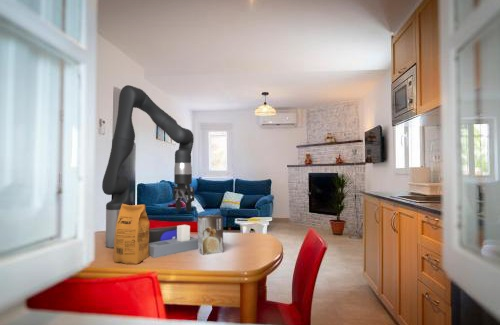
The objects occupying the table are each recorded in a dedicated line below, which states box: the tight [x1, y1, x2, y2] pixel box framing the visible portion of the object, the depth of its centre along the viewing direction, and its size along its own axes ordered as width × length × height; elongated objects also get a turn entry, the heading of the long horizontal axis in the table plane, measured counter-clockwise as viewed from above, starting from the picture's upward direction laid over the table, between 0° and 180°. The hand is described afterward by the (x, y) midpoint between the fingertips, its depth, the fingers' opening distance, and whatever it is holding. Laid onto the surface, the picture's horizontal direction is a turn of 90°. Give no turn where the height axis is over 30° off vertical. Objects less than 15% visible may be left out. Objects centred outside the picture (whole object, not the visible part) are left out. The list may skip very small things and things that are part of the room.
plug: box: [176, 224, 191, 242], centre depth 132 cm, size 4×4×10 cm
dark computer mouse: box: [149, 225, 178, 243], centre depth 137 cm, size 16×5×9 cm, turn 123°
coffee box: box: [197, 214, 224, 256], centre depth 127 cm, size 9×6×16 cm
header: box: [149, 236, 198, 259], centre depth 129 cm, size 9×21×5 cm, turn 132°
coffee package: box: [113, 204, 150, 265], centre depth 119 cm, size 10×12×22 cm
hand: (183, 210), depth 133 cm, fingers open, 8 cm apart
